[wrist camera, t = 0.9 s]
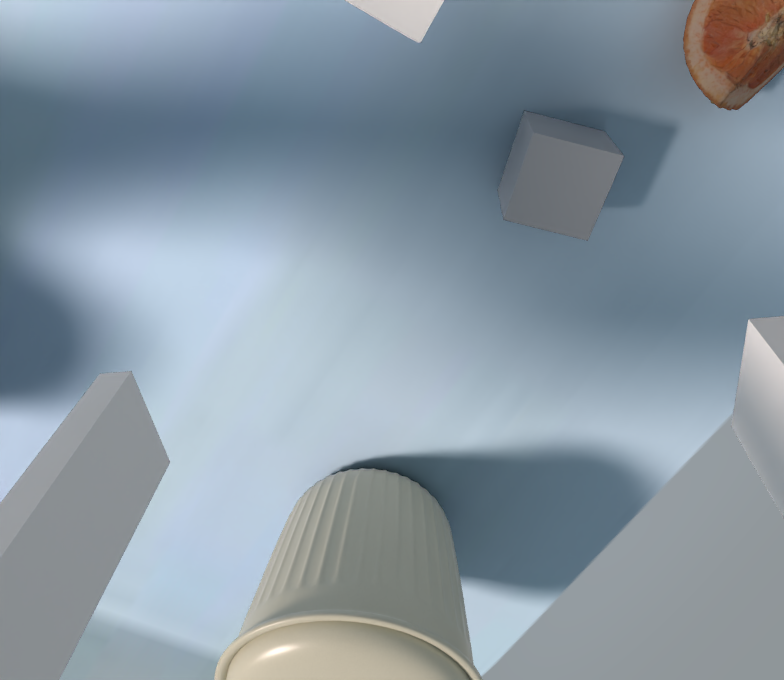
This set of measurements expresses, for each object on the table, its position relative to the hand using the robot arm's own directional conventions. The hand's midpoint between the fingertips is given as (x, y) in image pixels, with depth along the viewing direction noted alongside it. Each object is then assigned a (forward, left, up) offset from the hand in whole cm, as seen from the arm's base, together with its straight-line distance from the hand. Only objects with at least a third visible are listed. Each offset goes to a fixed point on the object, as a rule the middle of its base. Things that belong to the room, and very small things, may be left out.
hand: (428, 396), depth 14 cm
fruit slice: (+15, +8, -29) cm, 33 cm away
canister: (+4, -35, -29) cm, 45 cm away
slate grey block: (+8, -2, -29) cm, 30 cm away
